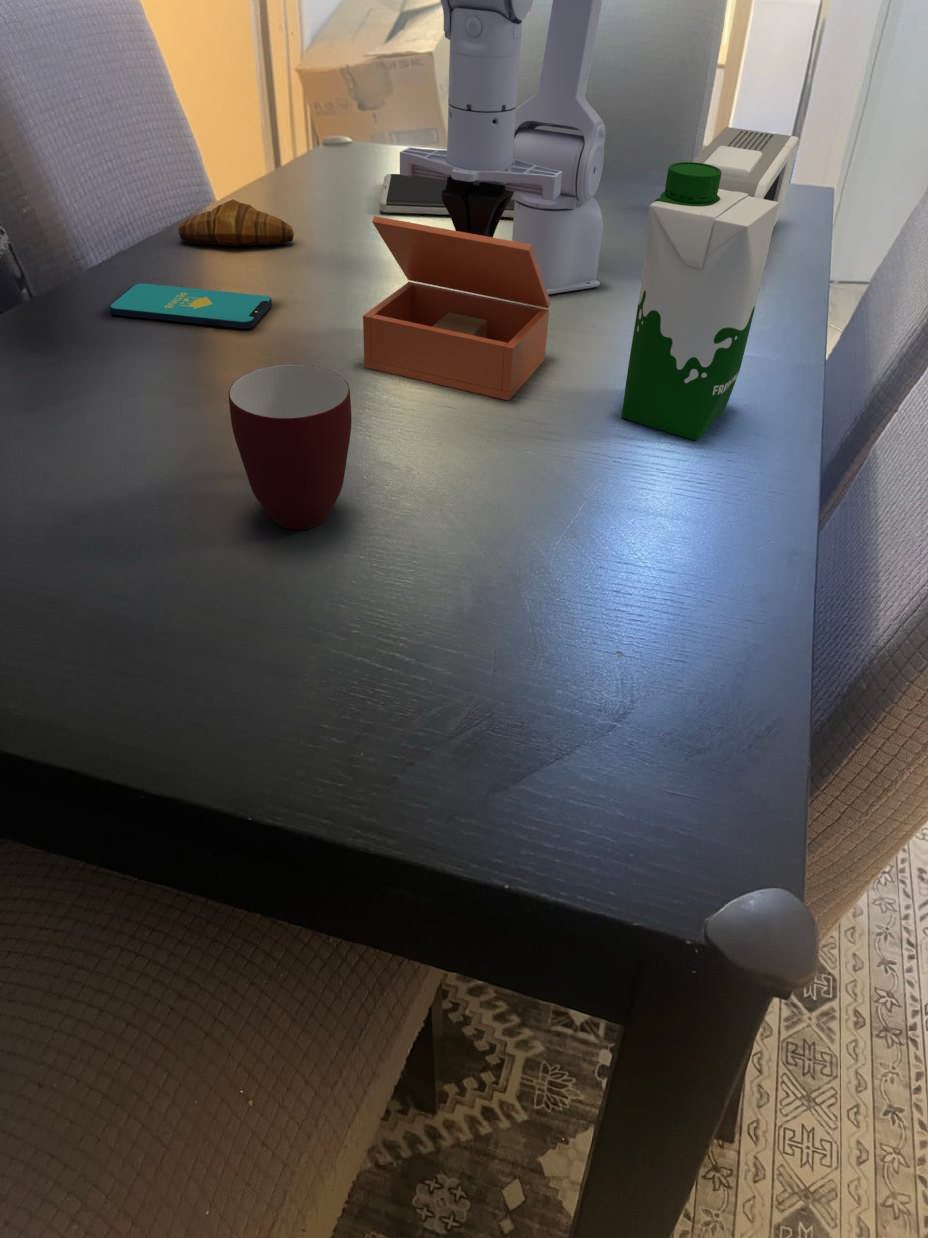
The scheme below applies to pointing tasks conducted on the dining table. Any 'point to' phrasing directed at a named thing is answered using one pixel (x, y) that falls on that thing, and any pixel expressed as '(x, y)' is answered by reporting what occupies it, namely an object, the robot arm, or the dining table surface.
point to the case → (455, 340)
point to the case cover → (465, 261)
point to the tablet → (418, 195)
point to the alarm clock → (753, 162)
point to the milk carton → (695, 300)
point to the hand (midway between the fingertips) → (474, 267)
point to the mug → (293, 439)
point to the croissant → (235, 227)
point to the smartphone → (192, 305)
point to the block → (463, 324)
